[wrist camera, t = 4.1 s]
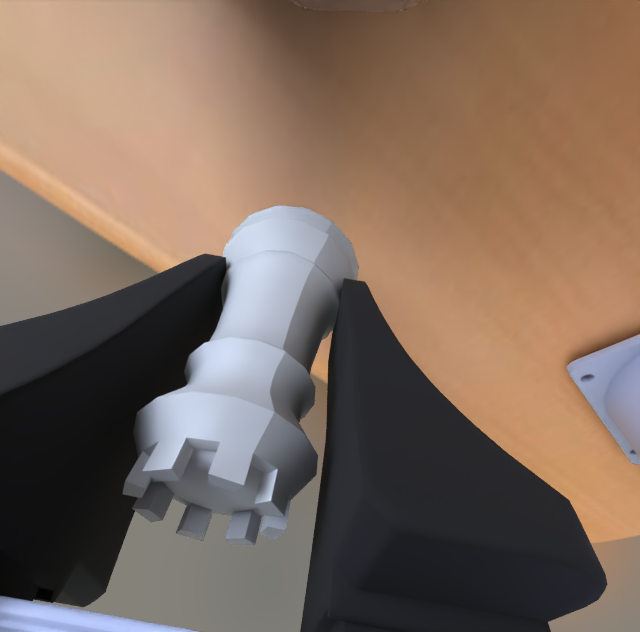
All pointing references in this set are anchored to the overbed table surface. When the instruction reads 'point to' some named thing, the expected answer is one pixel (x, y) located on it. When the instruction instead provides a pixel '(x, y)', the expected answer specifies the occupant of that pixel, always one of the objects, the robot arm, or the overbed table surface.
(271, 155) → the overbed table surface
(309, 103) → the overbed table surface
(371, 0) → the bowl
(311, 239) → the rook chess piece
